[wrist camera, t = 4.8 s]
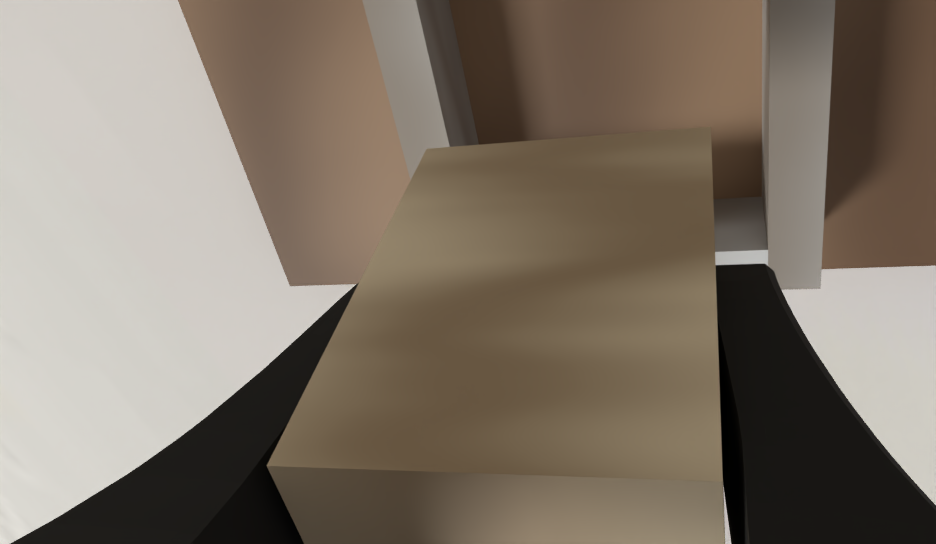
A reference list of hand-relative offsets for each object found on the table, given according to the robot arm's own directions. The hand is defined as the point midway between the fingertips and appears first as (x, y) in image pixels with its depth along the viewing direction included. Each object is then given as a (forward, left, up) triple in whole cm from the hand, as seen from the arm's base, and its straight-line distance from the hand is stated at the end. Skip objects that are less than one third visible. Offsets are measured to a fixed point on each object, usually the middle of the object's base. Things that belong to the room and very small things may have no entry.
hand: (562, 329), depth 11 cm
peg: (0, 0, -2) cm, 2 cm away
